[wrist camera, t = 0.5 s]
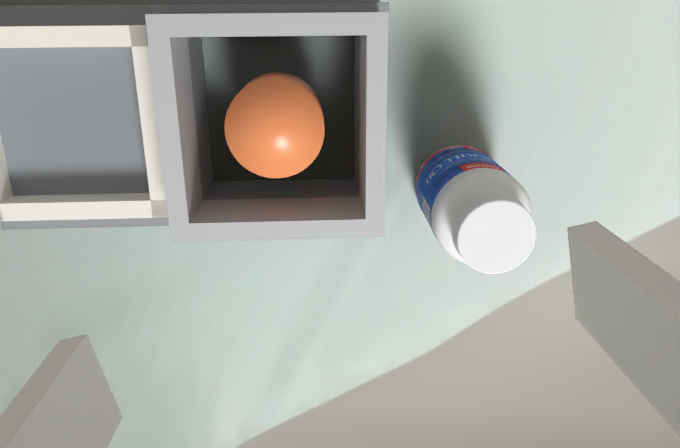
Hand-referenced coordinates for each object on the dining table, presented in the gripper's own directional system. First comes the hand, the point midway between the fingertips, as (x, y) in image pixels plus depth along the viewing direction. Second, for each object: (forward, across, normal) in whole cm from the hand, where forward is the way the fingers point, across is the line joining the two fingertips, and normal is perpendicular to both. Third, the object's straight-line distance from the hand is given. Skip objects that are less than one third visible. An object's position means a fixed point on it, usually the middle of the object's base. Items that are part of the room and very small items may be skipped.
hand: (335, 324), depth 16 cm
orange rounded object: (+19, -2, +3) cm, 19 cm away
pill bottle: (+23, +8, -4) cm, 24 cm away
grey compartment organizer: (+22, -7, +4) cm, 24 cm away
